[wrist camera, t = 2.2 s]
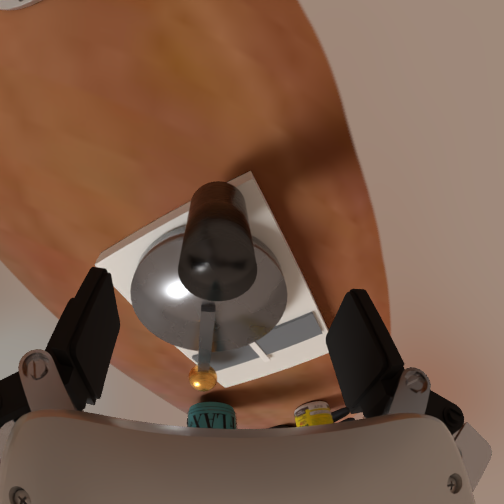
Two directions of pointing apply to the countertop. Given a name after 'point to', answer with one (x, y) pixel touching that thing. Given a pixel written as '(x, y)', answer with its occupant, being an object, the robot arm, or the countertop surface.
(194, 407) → the beverage bottle
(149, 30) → the countertop surface
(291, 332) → the stand
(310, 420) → the supplement bottle
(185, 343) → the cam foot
